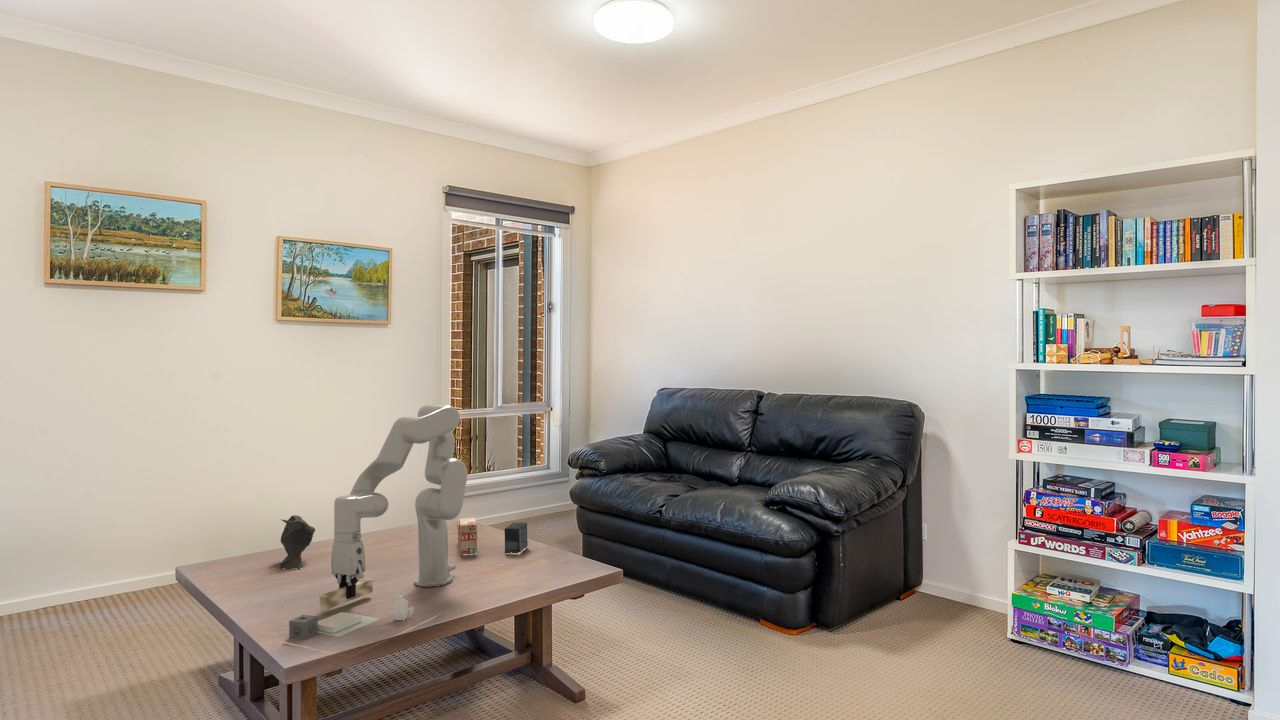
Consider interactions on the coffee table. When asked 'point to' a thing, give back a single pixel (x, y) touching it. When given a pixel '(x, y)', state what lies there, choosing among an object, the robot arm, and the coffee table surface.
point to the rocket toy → (400, 609)
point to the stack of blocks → (467, 535)
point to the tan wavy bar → (344, 594)
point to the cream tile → (338, 622)
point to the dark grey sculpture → (295, 541)
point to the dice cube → (303, 627)
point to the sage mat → (364, 622)
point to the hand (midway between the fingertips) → (347, 596)
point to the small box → (516, 537)
